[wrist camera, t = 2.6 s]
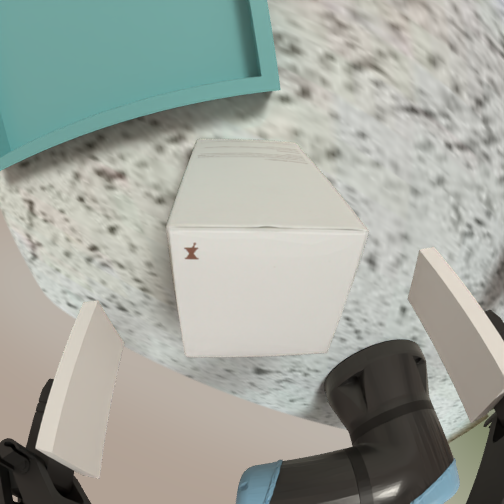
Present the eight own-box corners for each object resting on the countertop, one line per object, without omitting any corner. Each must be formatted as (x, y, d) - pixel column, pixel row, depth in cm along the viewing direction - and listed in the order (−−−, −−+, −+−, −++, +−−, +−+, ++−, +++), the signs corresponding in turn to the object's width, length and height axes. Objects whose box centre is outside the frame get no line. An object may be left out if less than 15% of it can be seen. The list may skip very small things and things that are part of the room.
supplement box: (196, 227, 24) (178, 360, 14) (196, 136, 20) (161, 221, 10) (287, 230, 25) (328, 357, 14) (300, 141, 21) (374, 229, 10)
